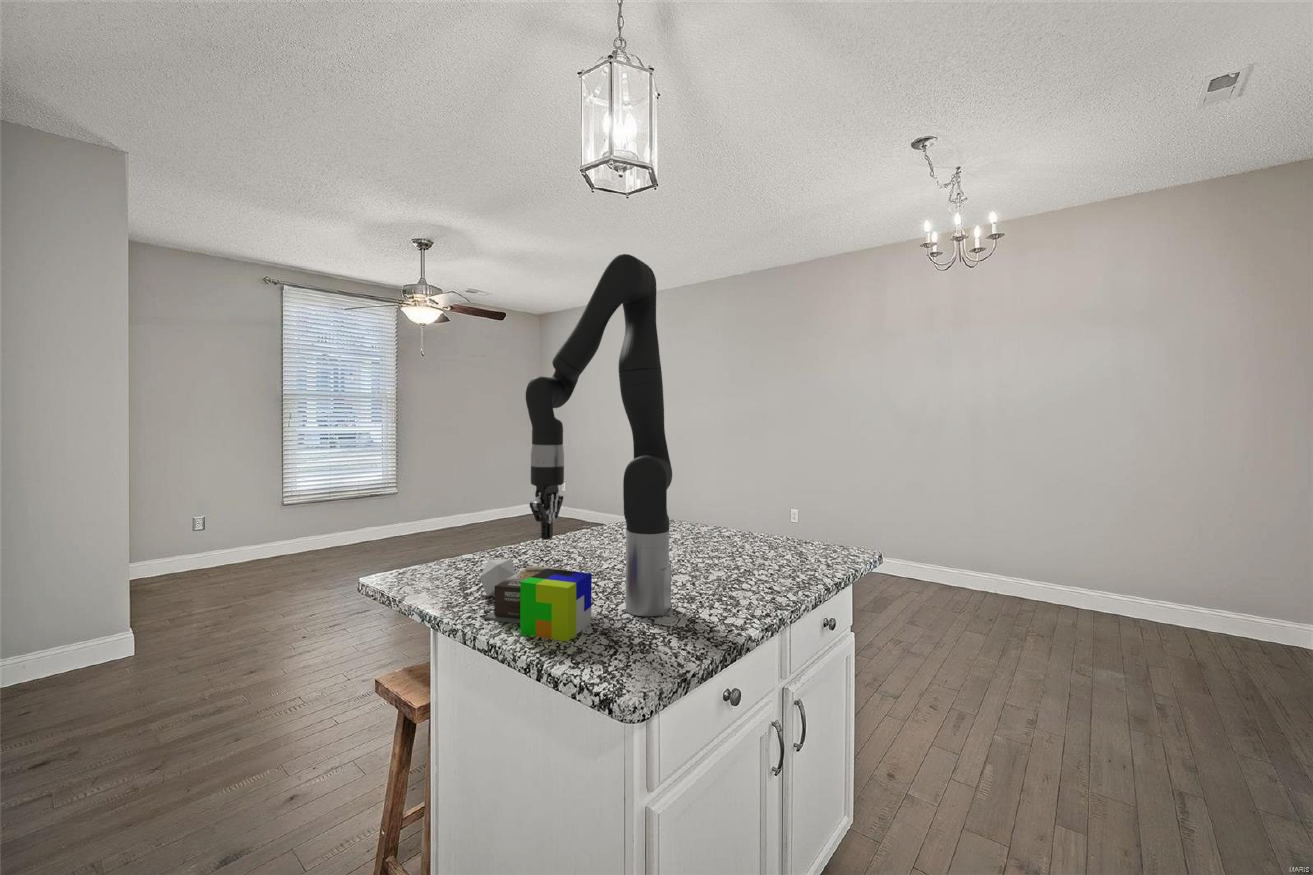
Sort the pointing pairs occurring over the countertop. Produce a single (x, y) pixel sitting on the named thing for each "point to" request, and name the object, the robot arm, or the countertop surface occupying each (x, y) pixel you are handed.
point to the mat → (502, 618)
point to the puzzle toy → (555, 604)
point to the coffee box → (513, 592)
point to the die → (496, 574)
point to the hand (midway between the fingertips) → (547, 538)
